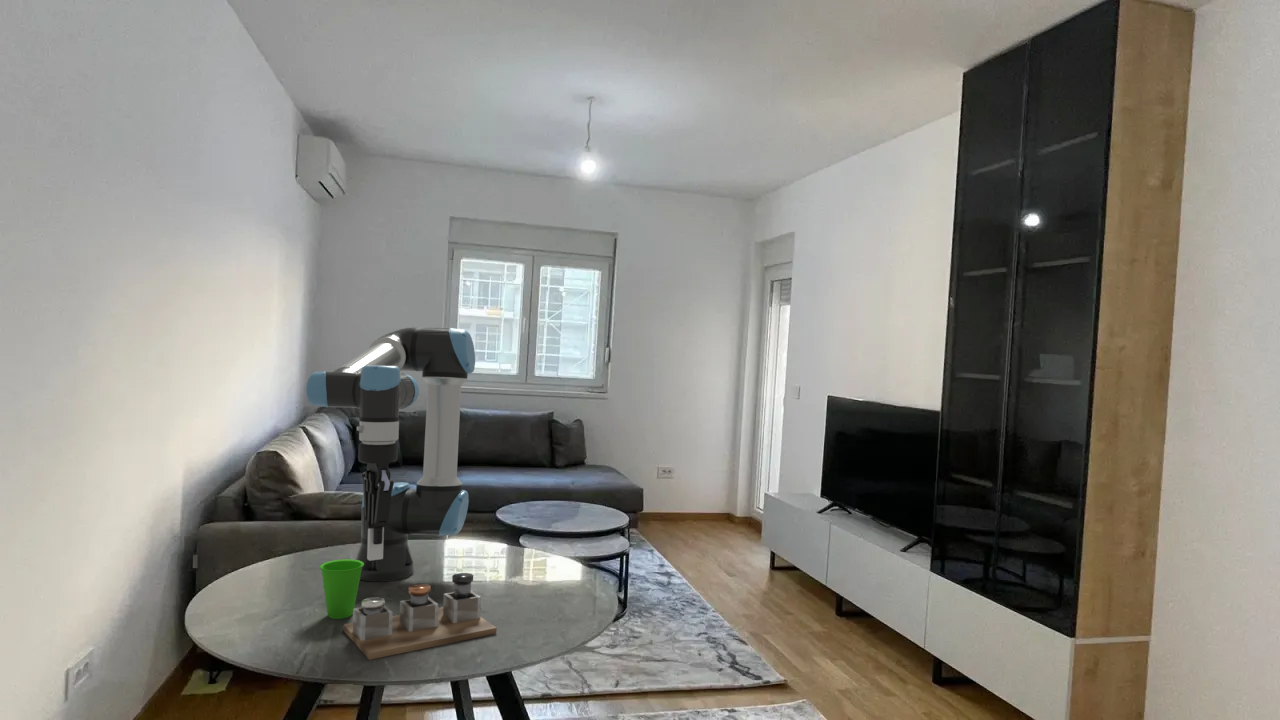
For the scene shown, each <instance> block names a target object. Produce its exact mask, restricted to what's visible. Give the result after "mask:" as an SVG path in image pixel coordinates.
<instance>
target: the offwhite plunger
mask: <svg viewBox="0 0 1280 720" xmlns="http://www.w3.org/2000/svg"><path fill="white" fill-rule="evenodd" d="M384 605H385V606H386V600H385V598H383V597H378V596H377V597H376V596H373V597H372V596H371V597H366V598H365V599H362V600H361V606H360V608H361V607H362V608H364V610H363V615H364V616H366V615H372V614H378V613H382V607H383V606H384Z"/></svg>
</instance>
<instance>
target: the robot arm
mask: <svg viewBox="0 0 1280 720" xmlns="http://www.w3.org/2000/svg"><path fill="white" fill-rule="evenodd" d="M475 352H476V351H475V345H474V341H473V338H472V336H471V334H470V332H468V330H466V329H463V328H461V329H460V328H453V327H417V326H416V327H415V326H412V327H405V328H400V329H397V330H395V331H394V330H393V331H392V332H388V333H386V334H384V335H382V336H380V337H378V338H377V339H375V340H374V341H373V342H372V343H371V344H370V345H369V346H368V349H366V350H365V351H364V352H361V353H360V354H358V355H357V356H355V357H353V358H352V359H351V360H350V361H348V362H346V363H345V364H343V365H341V366H340V367H338V368H336V369H335V370H333V371H326V370H323V371H314V372H312V373H311V374H310V375H309V377H308V379H307V382H306V386H305V388H306V390H305V392H306V399H307V401H308V403H309V404H310V405H312V406H315V407H321V408H322V407H325V408H326V409H327V408H349V409H350V408H353V409H357V408H358V409H359V418H358V419H359V425H358V426H356V431H358V432H359V433H358V440H359V441H361V442H360V443H359V444H358V451H357V452H358V453H357V454H358V455H357V459H358V462H359V463H362V464H366V470H365V471H364V472H362V474H361V477H362V484H363V485H362V486H363V493H362V500H361V501H362V502H361V503H362V504H361V506H360V508H361V520H360V521H361V523H360V524H361V525H360V528H361V529H360V531H361V532H360V537H361V538H360V546H359V549H358V552H357V554H356V558H355V560H359V561H362V562H363V563H364V566H363V567H362V570H361V576H360V580H361V581H363V582H364V581H365V582H390V581H396V580H401V579H405V578H407V577H410V576H412V575H413V574H414V572H415V568H414V567H415V563H414V562H415V561H414V558H413V556H412V552H411V549H410V546H409V535H411V536H412V535H415V536H416V535H418V536H419V535H421V536H439V537H443V536H455V535H457V534H458V533H459V532H461V530H462V528H463V526H464V523H465V521H466V518H467V513H468V508H469V502H470V499H469V492H468V491H467V490H465V489H463V481H461V480H460V479H459V477H458V475H457V474H458V459H459V458H458V457H459V455H458V454H459V439H460V438H459V437H460V434H459V433H460V418H461V417H460V416H461V415H460V414H461V399H462V398H461V397H462V396H461V395H462V386H463V385H464V384H465V383H466V382H467V381H468V374H472V373H474V371H475V368H476V367H475V365H476V353H475ZM401 371H411V372H422V378H421V379H422V380H423V381H424V382H425V383H426V385H427V391H426V393H427V395H426V412H425V413H426V414H425V432H424V452H423V473H422V477H421V478H420V479H419V480H418V481H417V482H416V484H415V486H416V488H411V486H410V483H409V482H402V481H400V482H398V481H397V482H394V480H393V479H392V480H391V471H390V470H389V469H390V468H389V464H390V463H395V462H396V461H397V460H398V457H399V456H398V455H399V454H398V453H399V444H398V443H397V442H396V441H398V440H399V435H400V434H399V431H400V430H399V429H400V421H399V420H400V417H399V416H400V410H403V409H407V407H410V406H412V405H413V404H414V403H415V402H416V401H417V399H418V397H419V394H420V388H419V385H418V382H417V381H416V379H415V378H414V377H413V376H411V375H409V374H406V373H403V372H402V373H401Z"/></svg>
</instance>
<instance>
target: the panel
mask: <svg viewBox="0 0 1280 720" xmlns="http://www.w3.org/2000/svg"><path fill="white" fill-rule="evenodd" d="M442 601H443V605H442V606H441V607H439V603H438V602H436V601H434V600H433V599H432V598H431V597H430V596H428V605H425V606H419V607H413V608H412V607H411V606H410V598H409V599H404V600H399V614H396V615H394V614H393V613H394V611H392V610H391V609H390V608H389V607H388V606H386V604H385V605H384V606H383V607H382V613H378V614H372V615H366V616H364V615H363V610H364V608H362V607H361V606H360V607H356V608H355V607H354V609H353V613H352V622H349V623H343V624H342V625H343V627H342V629H343V632H344V633H345V634H346V635H347V636H348V637H349V639H351V641H352V642H353V643H354V644H355V646H356V647H358V649H359V650H360V651H361V652H362V653H363V655H364V656H365V657H366V658H367V659H368V660H370V661H371V660H375V659H379V658H384V657H389V656H394V655H399V654H404V653H408V652H414V651H417V650H419V651H420V650H423V649H428V648H432V647H437V646H443V645H448V644H453V643H457V642H462V641H466V640H472V639H476V638H482V637H486V636H490V635H491V636H492V635H496V634H497V632H498V631H497V630H498V629H497V627H496V626H495V625H493V624H492V623H491V622H489V621H488V620H486V619H485V618H483V617H482V616H481V614H482V613H481V611H482V609H481V606H482V596H481V595H479V594H477V593H476V592H474V591H473V590H471V598H465V599H459V600H456V599H454V591H453V592H446V593H443V600H442Z"/></svg>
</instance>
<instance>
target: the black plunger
mask: <svg viewBox="0 0 1280 720" xmlns="http://www.w3.org/2000/svg"><path fill="white" fill-rule="evenodd" d="M451 578H452V579H451V581H452V583H453V592H454V599H456V600H459V599H465V598H471V591H472V582H473V581H474V574H472V573H468V572H460V573H455V574H453V575H452V577H451Z"/></svg>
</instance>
